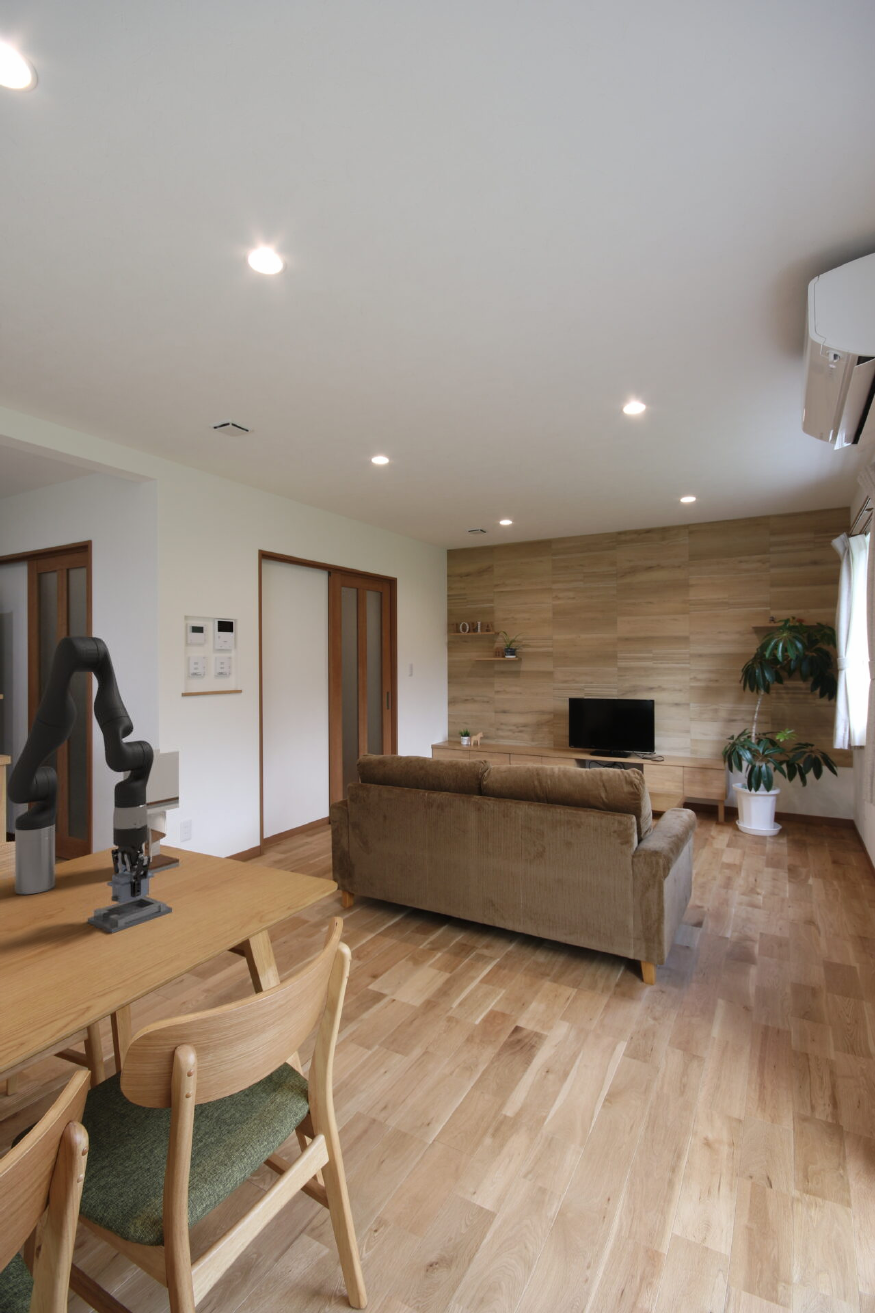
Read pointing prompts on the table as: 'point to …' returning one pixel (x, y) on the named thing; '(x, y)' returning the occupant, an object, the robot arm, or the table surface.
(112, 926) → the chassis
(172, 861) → the white alcove tower
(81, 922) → the table surface
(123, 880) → the servo
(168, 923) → the table surface
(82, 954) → the table surface
